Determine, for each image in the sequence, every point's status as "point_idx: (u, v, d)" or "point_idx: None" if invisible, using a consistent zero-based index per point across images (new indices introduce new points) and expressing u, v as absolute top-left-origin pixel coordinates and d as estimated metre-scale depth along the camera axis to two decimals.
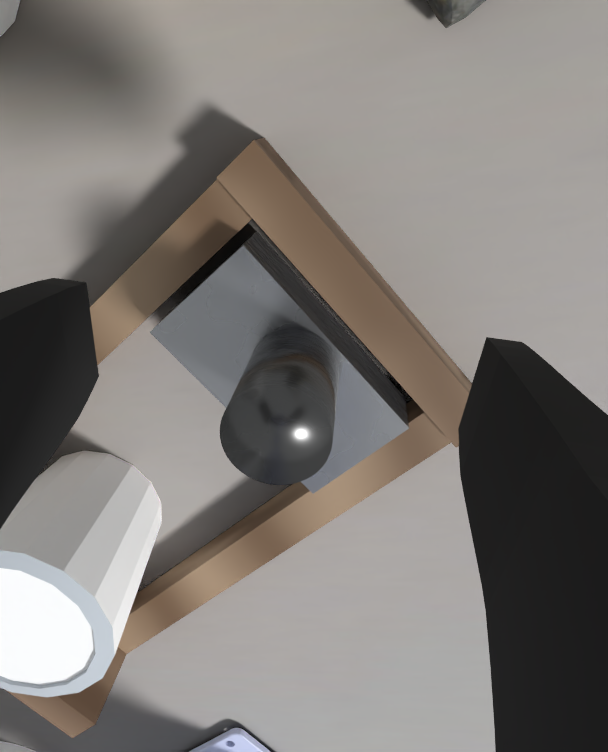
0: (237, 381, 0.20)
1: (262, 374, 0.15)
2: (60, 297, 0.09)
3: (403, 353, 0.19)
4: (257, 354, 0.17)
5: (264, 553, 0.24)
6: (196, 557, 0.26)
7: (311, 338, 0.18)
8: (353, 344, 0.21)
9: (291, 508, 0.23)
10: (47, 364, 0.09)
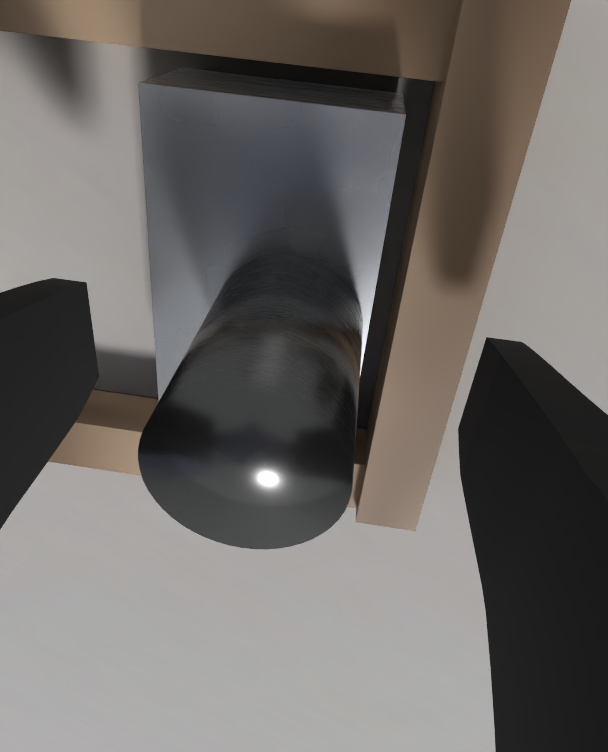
0: (201, 270, 0.11)
1: (304, 367, 0.08)
2: (60, 297, 0.09)
3: (415, 407, 0.13)
4: (286, 290, 0.09)
5: None
6: None
7: (358, 320, 0.11)
8: None
9: (111, 432, 0.15)
10: (47, 364, 0.09)
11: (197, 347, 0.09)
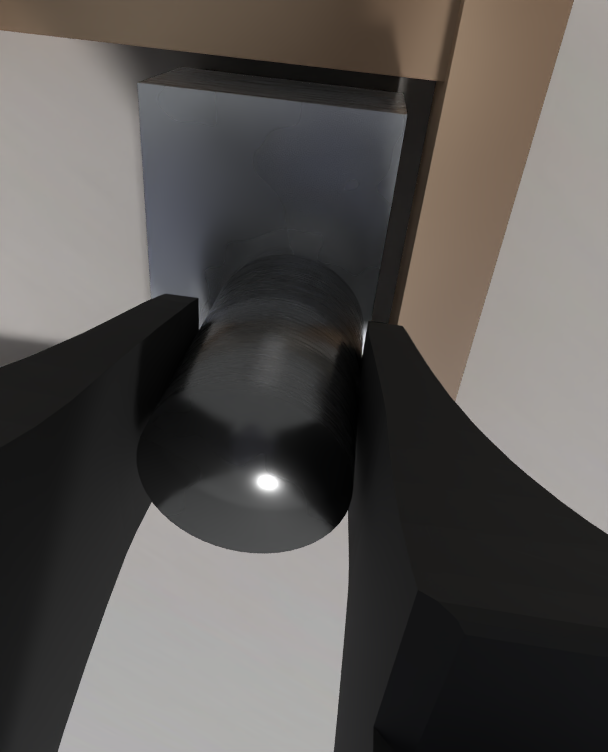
0: (200, 271, 0.11)
1: (304, 371, 0.08)
2: (182, 314, 0.09)
3: None
4: (286, 291, 0.09)
5: None
6: None
7: (359, 321, 0.11)
8: None
9: None
10: (169, 382, 0.09)
11: (196, 349, 0.08)
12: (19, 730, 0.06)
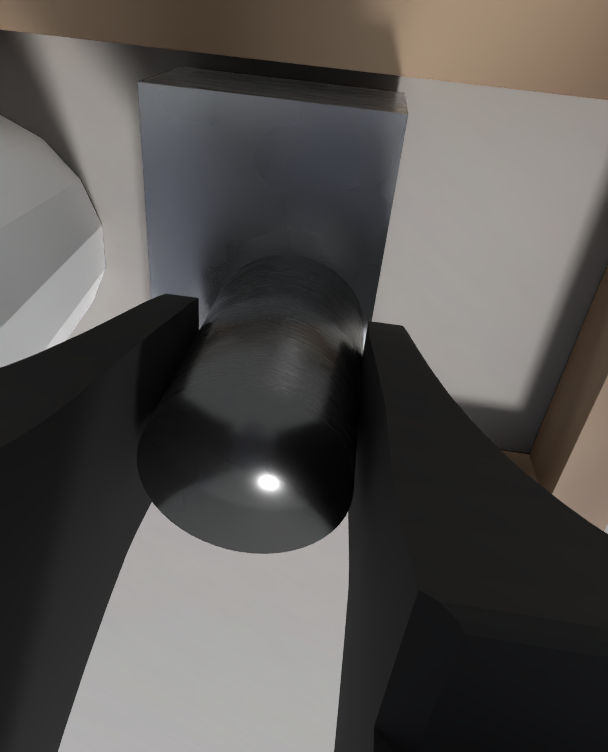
0: (201, 270, 0.11)
1: (304, 370, 0.08)
2: (182, 314, 0.09)
3: None
4: (287, 291, 0.09)
5: None
6: None
7: (360, 321, 0.11)
8: None
9: None
10: None
11: (197, 349, 0.08)
12: (19, 730, 0.06)
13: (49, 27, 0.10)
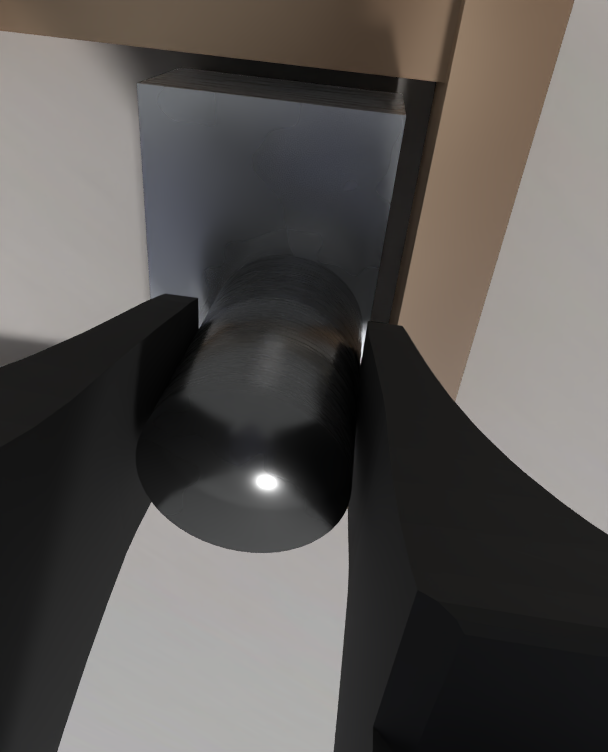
0: (200, 271, 0.11)
1: (303, 370, 0.08)
2: (182, 314, 0.09)
3: None
4: (285, 291, 0.09)
5: None
6: None
7: (358, 321, 0.11)
8: None
9: None
10: None
11: (195, 349, 0.08)
12: (19, 730, 0.06)
13: None
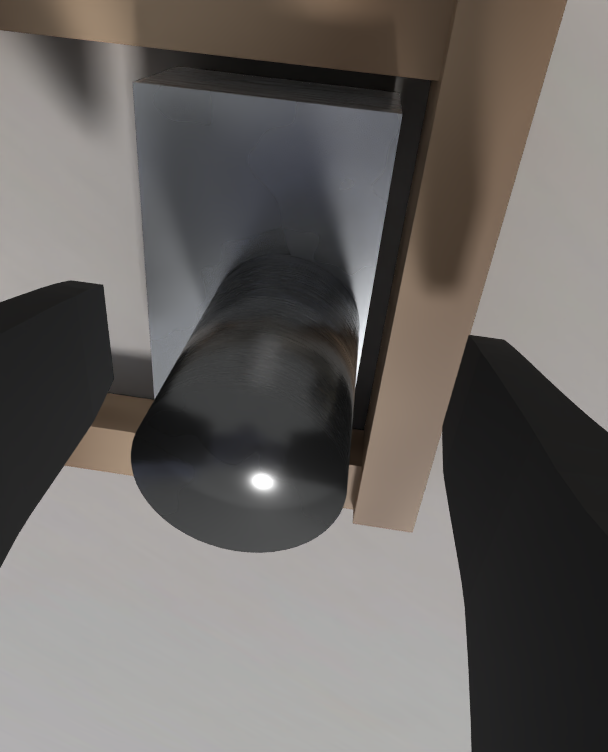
0: (196, 270, 0.11)
1: (298, 370, 0.08)
2: (78, 300, 0.09)
3: (412, 408, 0.13)
4: (281, 291, 0.09)
5: None
6: None
7: (355, 321, 0.11)
8: None
9: (107, 433, 0.15)
10: (65, 367, 0.09)
11: (191, 349, 0.08)
12: None
13: None
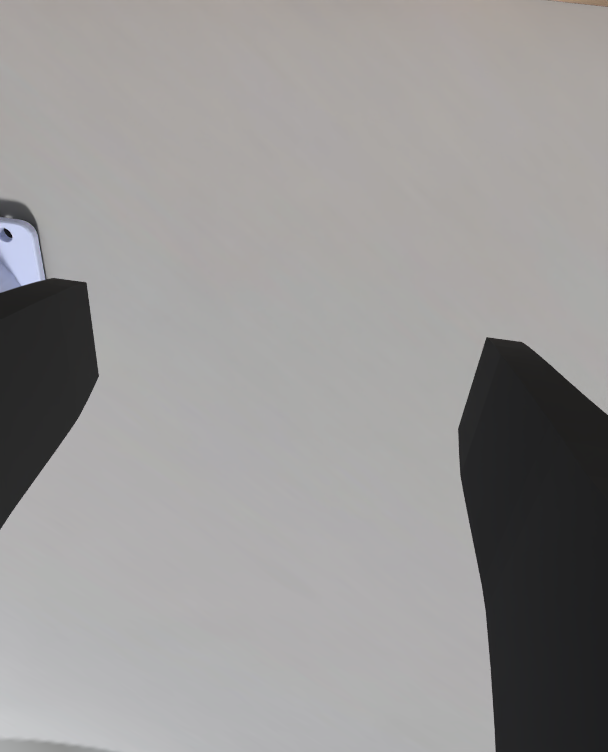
0: None
1: None
2: (60, 297, 0.09)
3: None
4: None
5: None
6: None
7: None
8: None
9: None
10: (47, 364, 0.09)
11: None
12: None
13: None
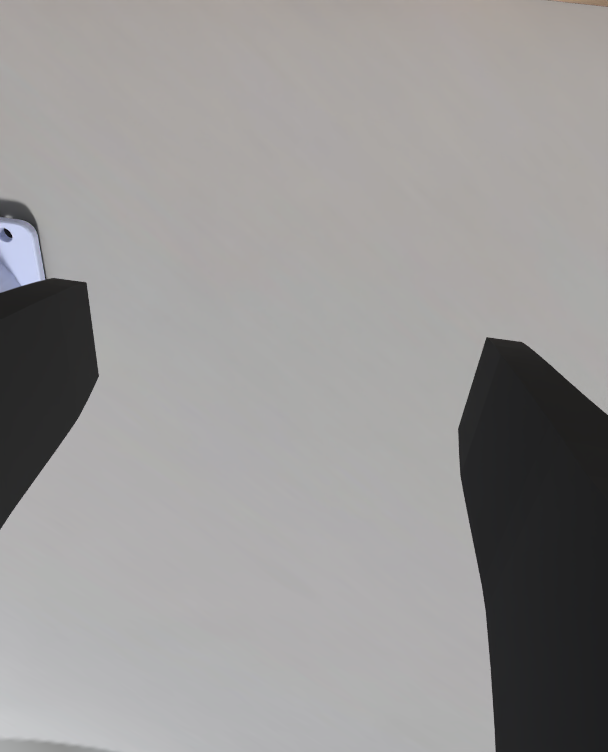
0: None
1: None
2: (60, 297, 0.09)
3: None
4: None
5: None
6: None
7: None
8: None
9: None
10: (47, 364, 0.09)
11: None
12: None
13: None
